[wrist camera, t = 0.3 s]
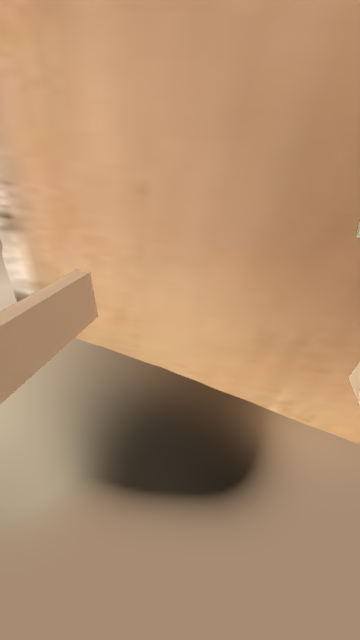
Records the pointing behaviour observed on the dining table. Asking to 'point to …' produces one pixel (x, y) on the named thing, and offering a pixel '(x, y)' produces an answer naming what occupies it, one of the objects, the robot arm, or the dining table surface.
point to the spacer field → (358, 231)
